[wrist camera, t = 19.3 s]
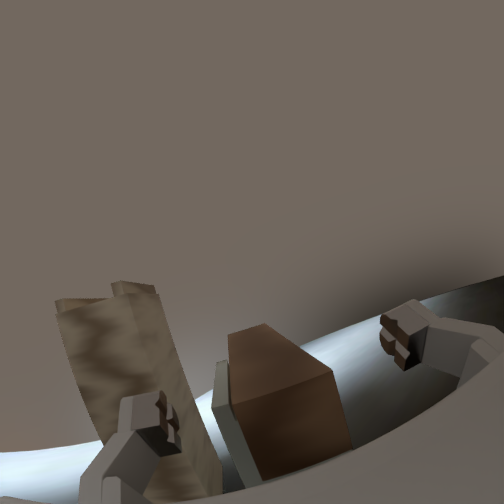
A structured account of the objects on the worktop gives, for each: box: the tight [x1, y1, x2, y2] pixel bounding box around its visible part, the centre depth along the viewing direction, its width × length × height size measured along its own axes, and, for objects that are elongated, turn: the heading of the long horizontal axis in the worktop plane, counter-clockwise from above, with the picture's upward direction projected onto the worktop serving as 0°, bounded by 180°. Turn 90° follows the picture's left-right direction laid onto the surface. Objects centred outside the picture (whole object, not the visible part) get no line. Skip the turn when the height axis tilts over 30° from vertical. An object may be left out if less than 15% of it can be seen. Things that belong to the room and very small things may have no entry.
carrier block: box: [211, 341, 352, 489], centre depth 20 cm, size 7×12×18 cm, turn 5°
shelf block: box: [55, 281, 223, 504], centre depth 29 cm, size 8×13×27 cm, turn 5°
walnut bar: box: [228, 323, 353, 481], centre depth 18 cm, size 4×18×4 cm, turn 5°
